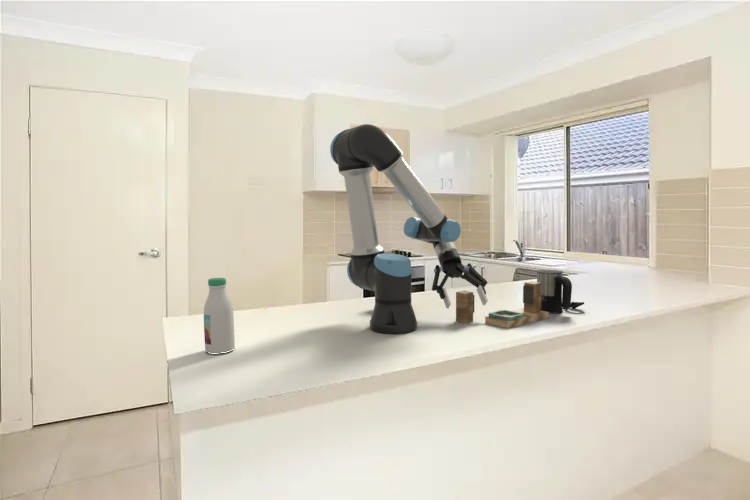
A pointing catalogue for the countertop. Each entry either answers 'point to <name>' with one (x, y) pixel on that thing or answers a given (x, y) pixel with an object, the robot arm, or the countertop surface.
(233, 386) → the countertop surface
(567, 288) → the milk frother
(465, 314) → the brown wooden block
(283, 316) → the countertop surface
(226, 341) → the milk bottle
